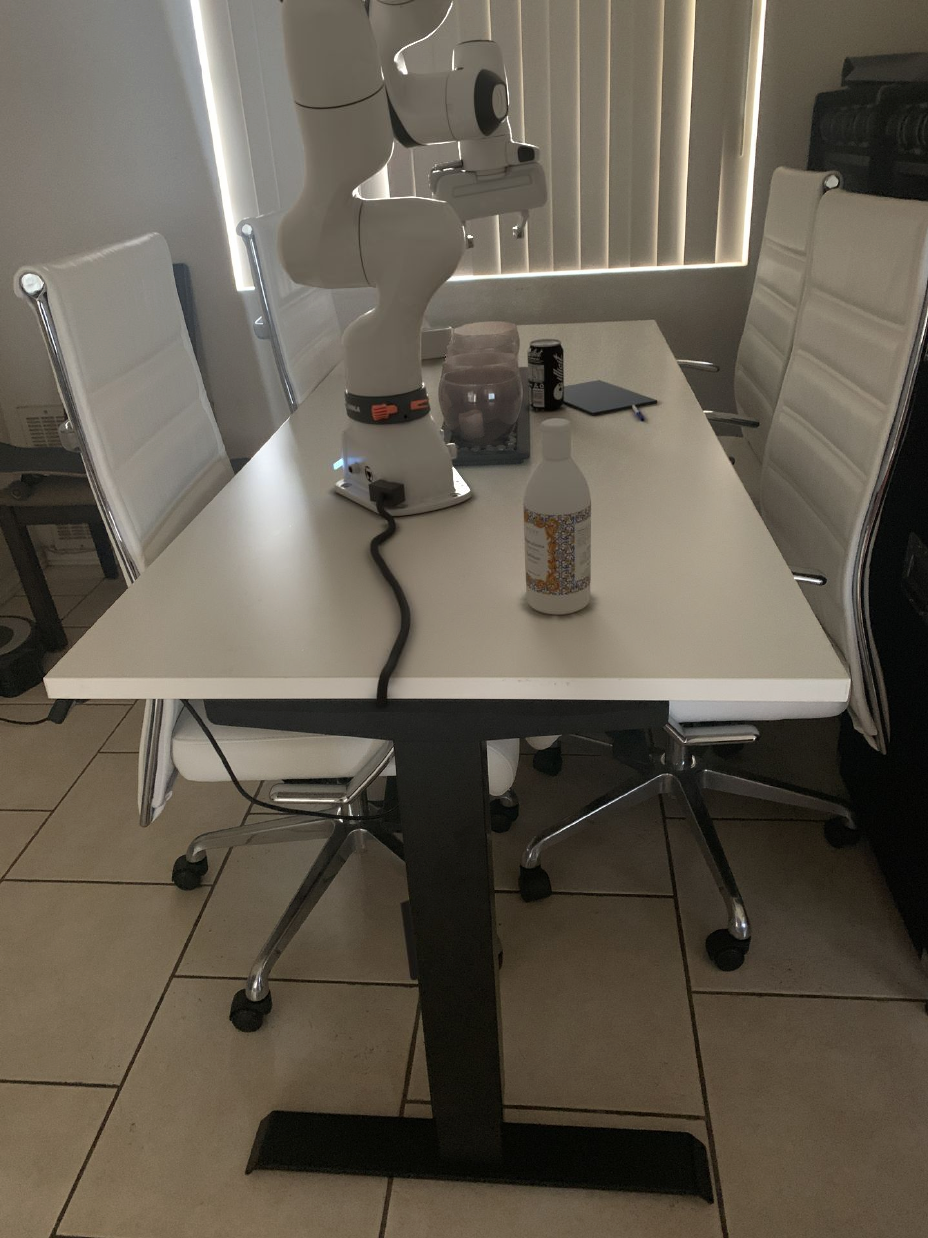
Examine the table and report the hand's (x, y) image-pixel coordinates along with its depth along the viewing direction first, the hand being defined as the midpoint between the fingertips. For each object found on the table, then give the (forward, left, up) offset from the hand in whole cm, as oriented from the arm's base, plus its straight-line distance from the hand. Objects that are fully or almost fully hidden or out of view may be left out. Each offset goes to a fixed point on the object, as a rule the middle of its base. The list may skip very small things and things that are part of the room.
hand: (493, 242), depth 155 cm
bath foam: (-76, +31, -29) cm, 87 cm away
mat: (-6, -18, -29) cm, 34 cm away
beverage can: (-6, -7, -29) cm, 30 cm away
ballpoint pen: (-19, -18, -29) cm, 39 cm away
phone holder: (+57, -9, -29) cm, 65 cm away
